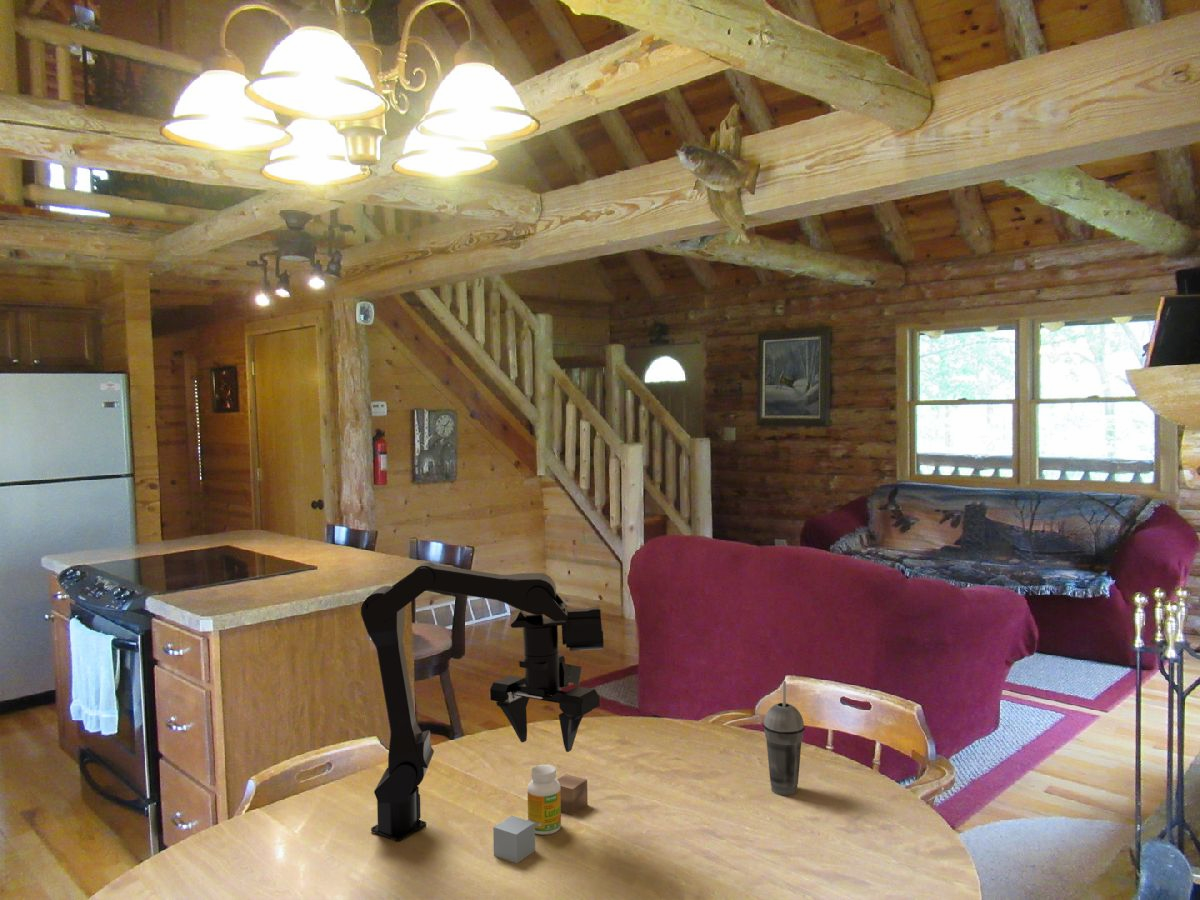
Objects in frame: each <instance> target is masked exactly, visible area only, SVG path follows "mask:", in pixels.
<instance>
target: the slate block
mask: <svg viewBox="0 0 1200 900" xmlns="http://www.w3.org/2000/svg"><path fill="white" fill-rule="evenodd" d="M492 830H493V856H494V857H497V858H500V859H503V860H506V861H508V862H512V863H514V864H518V863H520V862H521V861H522V860H523V859H525V858H527V857H528V856H529V855H531V854H533V853H534V852H535V851H536V834H535V823H534V822H531V821H528V819H524V818H521V817H518V816H515V815H510V816H509V817H507V818H506V819H504V820H503V821H501V822H500V823H498V824H496V825H494V826H493V829H492Z"/></svg>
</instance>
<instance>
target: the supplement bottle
mask: <svg viewBox="0 0 1200 900" xmlns="http://www.w3.org/2000/svg"><path fill="white" fill-rule="evenodd" d="M530 774H531V775H530V776H531V780H530V781H529V782H528V784H527V793H526V794H527V820H528V821H531V822H534V823H535V835H541V836H543V835H545V836H546V835H552V834H554V833H556V832H558V831H559V830H560V829H561V826H562V812H561V789H560V783H559V782H558V781H557V769H556V767H555V766H554V765H551V764H539V765H538V764H537V765H535V766H533V767H532V768H531V773H530Z"/></svg>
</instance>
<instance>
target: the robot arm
mask: <svg viewBox="0 0 1200 900" xmlns="http://www.w3.org/2000/svg"><path fill="white" fill-rule="evenodd" d="M426 591H435V592H441V593H448V594H454V595H461V596H467V597H474V598H479V599H480V598H481V599H487V600H493V601H497V602H500V603H503V604H506V605H508V606H510V607H512V608H514V609H516V610H518V613H517V615H516V616H515V617H513V618H512V620H511V622H510V627H511V628H512V629H517V628H518V629H519V628H522V640H523V659H521V660H519V661H518V663H519V665H518V666H519V668H523V669H524V677H523V676H517V675H511V674H509V675H508V676H505V677H503V678H500V679H498V680H496V681H494V682H492V684H491V686H490V688H489V698H490V699H489V700H490V701H493V702H495V705H496V706H497V707H500V709H501V710H502V712H503V714H504V715H505V717H506V718H507V720H508V722H509V723H510V725H511V727H512V728H513V730H514V732H515V734H516V736H517V737H518V739H519V741H520V742H521V743H525V742H526V741H527V738H528V721H527V719H528V718H527V706H528V703H529V700H530V699H534V700H539V701H545V702H549V703H550V702H551V703H556V704H558V705H559V707H558V708H559V709H560V711H561V713H559V714H558V719H559V725H560V730H561V736H562V742H563V747H564V750H565V752H566V753H569V752H571V751H572V749H573V746H574V743H575V739H576V736H577V733H578V729H579V727H580V724H581V722H582V719H583V718H584V717H585V715H586V714H588V713H590V712H592V711H593V710H594V709H597V708H598V707H600V705H601V703H600V701H601V700H600V694H599V692H598V690H597V689H595V688H592V687H587V686H586V687H585V686H580V682H581V675H582V668H583V666H581V665H575V664H568V663H566V658H565V656H564V655H563V654H560V649H559V647H560V646H559V628H558V626H561V639H562V640H561V643H562V646H566V647H565V648H567V649H569V651H570V652H574V651H577V652H578V651H591V650H604V648H605V647H604V627H603V623H602V617H601V616H602V614H601V607H600V606H591V607H587V608H572V609H571V608H570V609H569V606H568V605H567V603H566V602H565V601H564V600H563V599H562V598H561V596H559V594H558V593H557V587H556V583H555V581H554V580H553V578H552V577H551V576H550V575H548V574H546V573H543V572H529V573H527V572H525V573H524V572H523V573H513V574H497V573H492V572H486V571H478V570H473V569H466V568H458V567H452V566H446V565H441V564H436V563H433V562H430V561H429V562H428V561H426V562H422V563H420V564H419V565H418V566H417V567H416V568H415V569H414V570H413V571H412V572H410V573H408V574H406V576H404V577H402V579H399V581H398V582H396V583H395V584H393V585H392V586H391V585H384V586H380V587H379V588H377V589H376V590H374V591H373V592H372V593H370V594H369V595H368V596H367V597H366V598H365V600H364V601H363V603H362V604H361V607H360V615H361V618H362V621H363V624H364V627H365V631H366V633H367V635H368V637H369V638H370V640H371V641H372V643H373V645H374V646H375V650H376V655H377V660H378V665H379V672H380V678H381V683H382V689H383V694H384V695H383V696H384V700H385V706H386V712H387V713H386V714H387V720H388V725H389V730H390V737H389V738H390V739H389V744H388V745H389V747H388V754H387V755H388V758H387V760H388V761H387V763H388V764H387V768H386V769H385V771H384V773H383V775H382V776H381V778H380V780H379V781H378V783H377V785H376V787H375V789H374V792H373V794H374V795H375V798H376V803H377V804H376V807H377V809H376V810H377V824H375V825H373V826H372V827H371V828H370V831H371V832H372V833H375V834H377V835H379V836H382V837H386V838H388V839H390V840H394V841H396V842H397V841H401V840H403V839H405V838H407V837H409V836H410V835H412V834H414V833H415V832H417V831H420V830H421V829H423V828H424V827H426V826H427V821H424V820H423V819H422V820H421V795H420V792H419V791H420V789H419V788H420V787H419V786H420V785H421V783H422V782H423V780H424V778H425V775H426V772H427V771H428V768H429V766H430V764H431V760H432V758H433V755H434V753H435V750H434V749H433V747H432V743H431V730H430V729H428V730H425V731H422V730H421V728H420V727H419V725H418V723H417V719H416V714H415V706H414V702H413V701H414V700H413V694H412V690H411V689H412V688H411V682H410V677H409V671H408V670H409V669H408V665H407V664H408V663H407V659H406V658H407V657H406V652H405V646H404V641H403V640H404V630H405V629H404V628H405V621H406V620H405V619H406V609H405V608H406V606H407V605H409V604H410V603H411V602H412V601H414V600H415V599H417V598H418V597H419V596H421V595H422V594H423V593H424V592H426ZM525 612H526V613H525ZM527 613H528V614H527ZM545 616H546V617H545ZM569 684H573V685H576V686H575V687H573V688H572V689H570V690H567V691H564V690H561V689H563V688H564V689H565V688H567V687H569V686H570V685H569Z"/></svg>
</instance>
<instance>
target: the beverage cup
mask: <svg viewBox="0 0 1200 900" xmlns="http://www.w3.org/2000/svg"><path fill="white" fill-rule="evenodd" d="M762 726H763V729H764V730H763V731H764V736H765V738H766V749H767V760H768V770H769V782H770V788H771V789H770V790H771V792H772V793H773V794H776V795H778V796H783V797H784V796H785V797H786V796H787V797H788V796H789V797H790V796H794V795H796V794H797V793H798V785H799V773H800V765H801V763H800V762H801V751H802V750H801V749H802V742H803V737H804V731H805V729H806V728H805V724H804V719H803V716H802V713H801V712H800V711H799V710H798V709H797V707H795V706H793V705H792V704H790V703H787V682H786V680H785V681H784V680H783V681H782V702H779V703H776V704H774V705H772V706H771V707H770V708H769V709H767V711H766V714H765V716H764V721H763V725H762Z"/></svg>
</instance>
